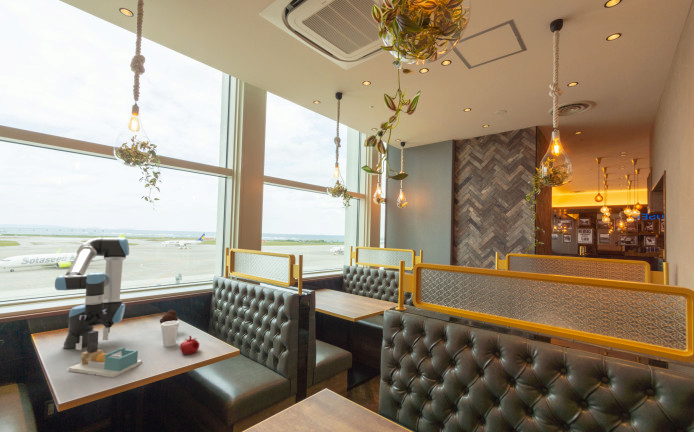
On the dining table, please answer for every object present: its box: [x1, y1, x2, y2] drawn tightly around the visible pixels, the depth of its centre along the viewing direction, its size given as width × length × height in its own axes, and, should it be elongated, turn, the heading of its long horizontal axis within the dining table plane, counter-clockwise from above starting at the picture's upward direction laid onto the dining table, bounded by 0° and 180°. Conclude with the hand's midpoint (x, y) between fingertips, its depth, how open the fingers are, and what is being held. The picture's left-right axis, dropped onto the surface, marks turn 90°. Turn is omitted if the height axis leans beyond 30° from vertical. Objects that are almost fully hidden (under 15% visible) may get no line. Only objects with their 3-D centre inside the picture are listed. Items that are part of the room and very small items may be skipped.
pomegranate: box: [179, 335, 200, 355], centre depth 177 cm, size 10×10×9 cm
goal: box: [104, 346, 139, 371], centre depth 155 cm, size 9×10×7 cm
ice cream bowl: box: [159, 309, 179, 325], centre depth 208 cm, size 11×11×15 cm
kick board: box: [68, 354, 143, 378], centre depth 157 cm, size 27×16×4 cm, turn 78°
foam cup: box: [160, 321, 180, 348], centre depth 188 cm, size 10×9×13 cm
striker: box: [80, 330, 104, 364], centre depth 159 cm, size 6×6×15 cm
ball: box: [96, 352, 107, 363], centre depth 158 cm, size 5×5×5 cm
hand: (92, 344), depth 159 cm, fingers open, 13 cm apart
